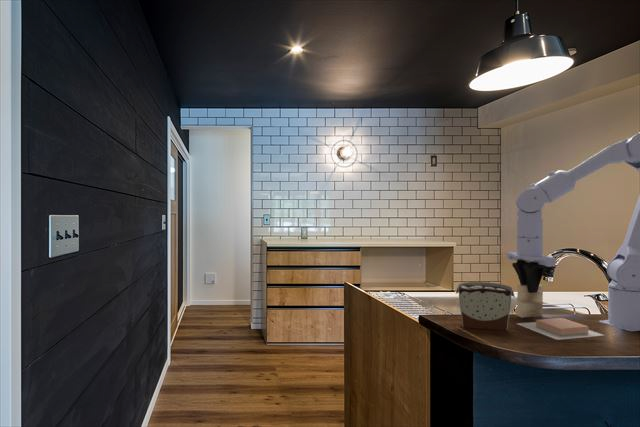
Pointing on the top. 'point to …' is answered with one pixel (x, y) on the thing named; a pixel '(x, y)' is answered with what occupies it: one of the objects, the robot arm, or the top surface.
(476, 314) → the food container
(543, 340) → the top surface
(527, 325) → the mat
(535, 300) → the beige upright block
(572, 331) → the tile
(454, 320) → the top surface
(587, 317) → the top surface
